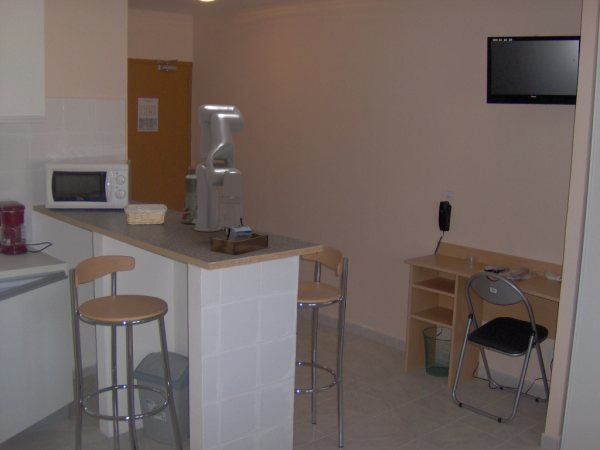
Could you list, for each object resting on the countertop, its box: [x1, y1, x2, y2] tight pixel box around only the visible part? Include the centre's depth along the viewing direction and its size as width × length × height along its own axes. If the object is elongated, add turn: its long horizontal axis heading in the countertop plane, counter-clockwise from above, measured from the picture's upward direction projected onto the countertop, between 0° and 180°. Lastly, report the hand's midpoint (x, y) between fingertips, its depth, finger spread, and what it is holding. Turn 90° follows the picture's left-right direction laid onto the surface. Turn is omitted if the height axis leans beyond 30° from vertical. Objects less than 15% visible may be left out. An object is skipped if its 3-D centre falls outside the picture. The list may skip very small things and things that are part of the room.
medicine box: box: [229, 225, 253, 242], centre depth 293 cm, size 8×4×9 cm, turn 125°
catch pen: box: [209, 232, 269, 256], centre depth 294 cm, size 13×21×5 cm, turn 146°
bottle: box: [180, 166, 198, 225], centre depth 349 cm, size 9×9×28 cm
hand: (231, 244), depth 297 cm, fingers closed
